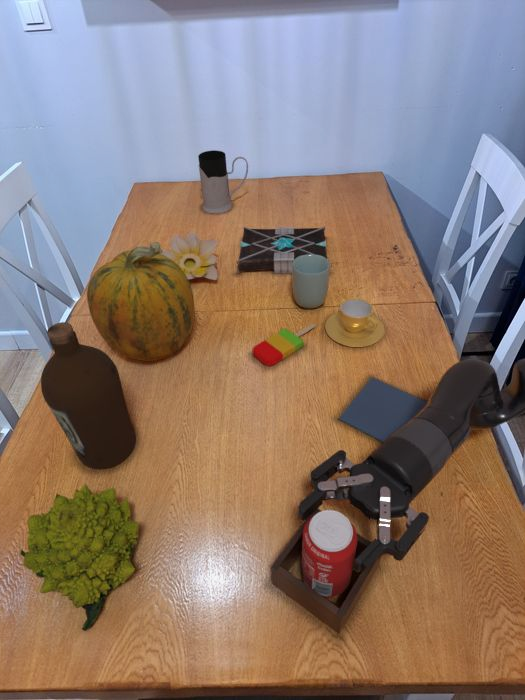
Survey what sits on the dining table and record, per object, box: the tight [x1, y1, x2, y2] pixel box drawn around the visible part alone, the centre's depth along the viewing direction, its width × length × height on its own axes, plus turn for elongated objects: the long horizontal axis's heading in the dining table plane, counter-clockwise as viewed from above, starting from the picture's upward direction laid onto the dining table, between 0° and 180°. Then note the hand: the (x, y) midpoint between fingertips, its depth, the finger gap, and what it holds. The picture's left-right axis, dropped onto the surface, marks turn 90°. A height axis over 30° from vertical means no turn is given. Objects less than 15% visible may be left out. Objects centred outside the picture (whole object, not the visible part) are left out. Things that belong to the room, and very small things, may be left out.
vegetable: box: [20, 483, 140, 632], centre depth 63 cm, size 15×16×15 cm
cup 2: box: [324, 297, 386, 348], centre depth 98 cm, size 12×12×5 cm
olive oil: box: [40, 321, 137, 470], centre depth 72 cm, size 11×11×25 cm
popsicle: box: [252, 323, 317, 367], centre depth 97 cm, size 6×15×2 cm, turn 131°
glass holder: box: [197, 149, 249, 214], centre depth 139 cm, size 9×14×15 cm, turn 100°
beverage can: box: [300, 509, 357, 598], centre depth 60 cm, size 6×6×12 cm
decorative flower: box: [160, 231, 219, 281], centre depth 114 cm, size 15×11×10 cm
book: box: [236, 226, 330, 274], centre depth 121 cm, size 22×17×5 cm
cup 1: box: [291, 254, 331, 310], centre depth 104 cm, size 8×8×10 cm
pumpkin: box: [86, 241, 195, 362], centre depth 91 cm, size 19×19×25 cm
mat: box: [338, 376, 428, 444], centre depth 83 cm, size 14×12×1 cm
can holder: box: [270, 508, 382, 635], centre depth 62 cm, size 10×10×5 cm
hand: (326, 540), depth 57 cm, fingers open, 8 cm apart
